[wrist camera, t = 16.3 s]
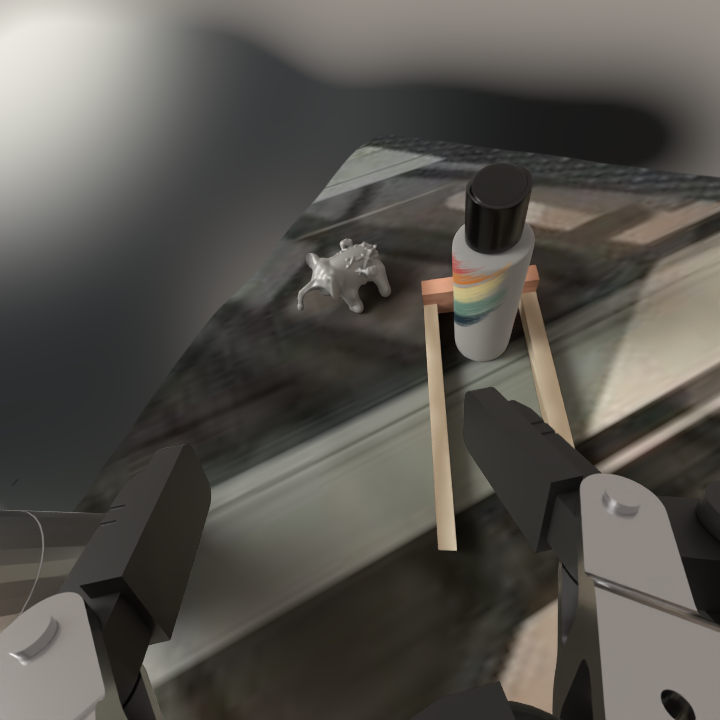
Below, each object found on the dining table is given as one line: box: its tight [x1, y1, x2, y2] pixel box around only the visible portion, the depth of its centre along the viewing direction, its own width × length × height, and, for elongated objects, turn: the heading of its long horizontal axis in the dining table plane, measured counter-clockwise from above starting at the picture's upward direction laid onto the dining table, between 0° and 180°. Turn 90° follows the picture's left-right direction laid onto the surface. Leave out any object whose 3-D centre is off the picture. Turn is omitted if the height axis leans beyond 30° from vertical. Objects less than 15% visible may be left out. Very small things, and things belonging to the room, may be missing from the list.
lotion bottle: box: [452, 163, 534, 361], centre depth 28 cm, size 6×6×20 cm
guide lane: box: [421, 265, 575, 551], centre depth 32 cm, size 12×27×4 cm, turn 177°
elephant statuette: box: [297, 239, 391, 313], centre depth 41 cm, size 9×12×8 cm
